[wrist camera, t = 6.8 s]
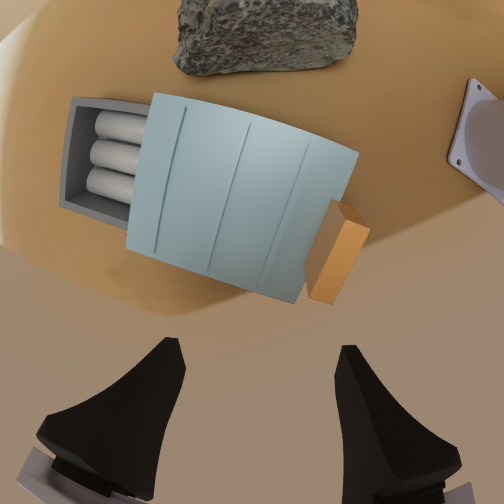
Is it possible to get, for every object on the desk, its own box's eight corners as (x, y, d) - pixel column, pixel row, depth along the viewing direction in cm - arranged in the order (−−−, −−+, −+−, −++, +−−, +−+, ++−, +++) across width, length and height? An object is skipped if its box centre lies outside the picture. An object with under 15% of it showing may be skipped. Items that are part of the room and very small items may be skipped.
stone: (243, 56, 7) (307, -107, 2) (134, 68, 12) (182, -54, 8) (365, 120, 13) (396, -7, 9) (249, 93, 19) (280, -7, 15)
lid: (365, 156, 13) (396, 167, 10) (303, 298, 18) (307, 345, 14) (161, 94, 13) (121, 85, 9) (132, 242, 17) (97, 274, 13)
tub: (224, 120, 17) (209, 117, 13) (195, 225, 20) (177, 247, 17) (104, 98, 17) (72, 96, 13) (89, 192, 20) (59, 206, 16)
